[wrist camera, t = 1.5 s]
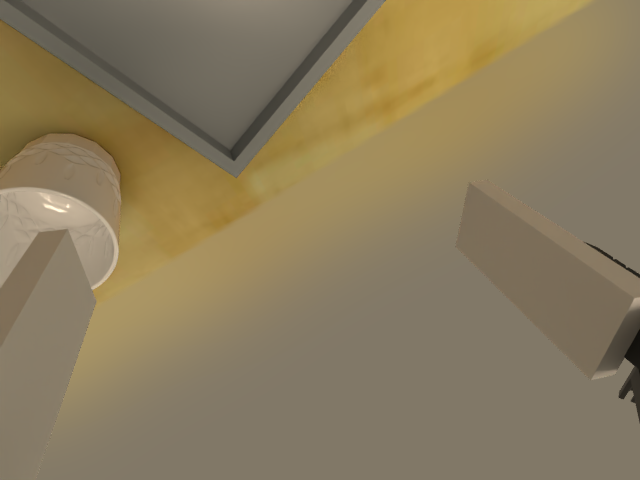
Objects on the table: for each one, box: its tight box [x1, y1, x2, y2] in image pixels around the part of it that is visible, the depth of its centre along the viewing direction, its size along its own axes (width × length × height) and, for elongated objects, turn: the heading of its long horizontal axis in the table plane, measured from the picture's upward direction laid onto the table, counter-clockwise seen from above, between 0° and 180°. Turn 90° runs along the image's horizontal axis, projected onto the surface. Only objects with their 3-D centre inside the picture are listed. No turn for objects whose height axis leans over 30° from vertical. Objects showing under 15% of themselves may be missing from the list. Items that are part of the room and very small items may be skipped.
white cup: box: [0, 134, 121, 290], centre depth 27 cm, size 8×8×10 cm
